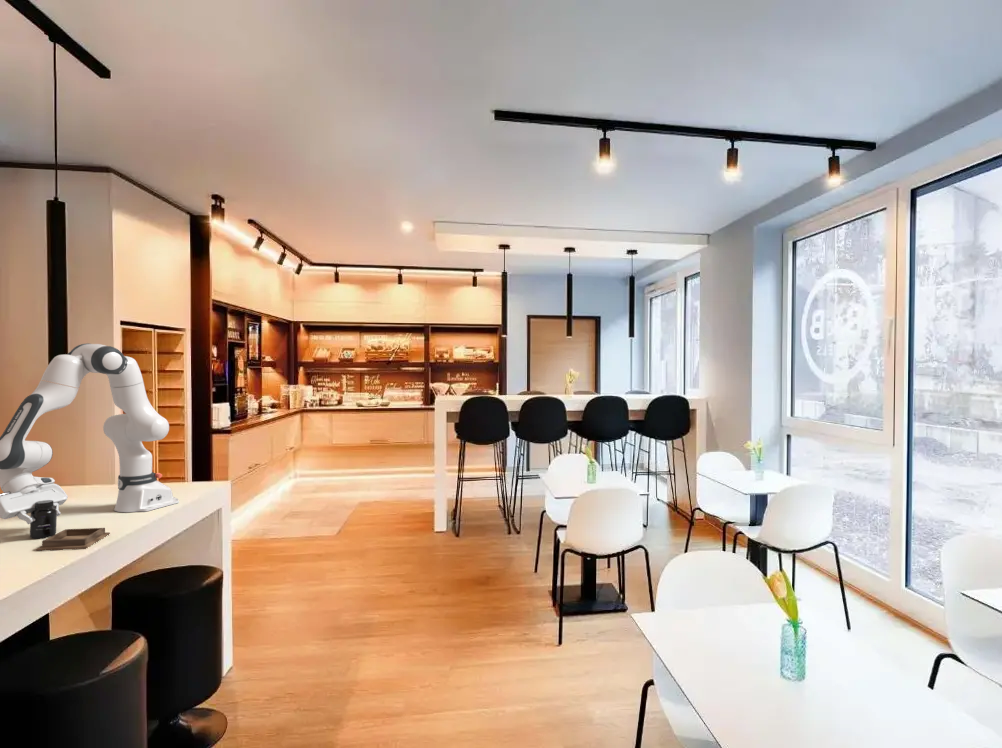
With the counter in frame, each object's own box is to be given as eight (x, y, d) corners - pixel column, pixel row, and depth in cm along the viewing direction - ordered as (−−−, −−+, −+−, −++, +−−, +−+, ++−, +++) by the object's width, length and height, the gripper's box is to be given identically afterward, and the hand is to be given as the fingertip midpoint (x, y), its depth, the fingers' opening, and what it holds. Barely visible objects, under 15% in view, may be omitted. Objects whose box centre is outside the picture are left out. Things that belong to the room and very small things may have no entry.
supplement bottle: (40, 540, 172) (40, 505, 172) (24, 538, 173) (24, 503, 173) (61, 533, 179) (62, 499, 179) (46, 532, 180) (46, 498, 180)
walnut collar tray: (63, 536, 176) (63, 528, 176) (109, 534, 179) (109, 526, 179) (36, 551, 162) (36, 542, 162) (86, 548, 165) (86, 540, 165)
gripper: (-7, 490, 167) (16, 522, 165) (57, 476, 187) (79, 505, 185) (-18, 502, 168) (5, 534, 166) (47, 488, 188) (69, 516, 186)
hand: (45, 518), depth 176 cm, fingers open, 7 cm apart
